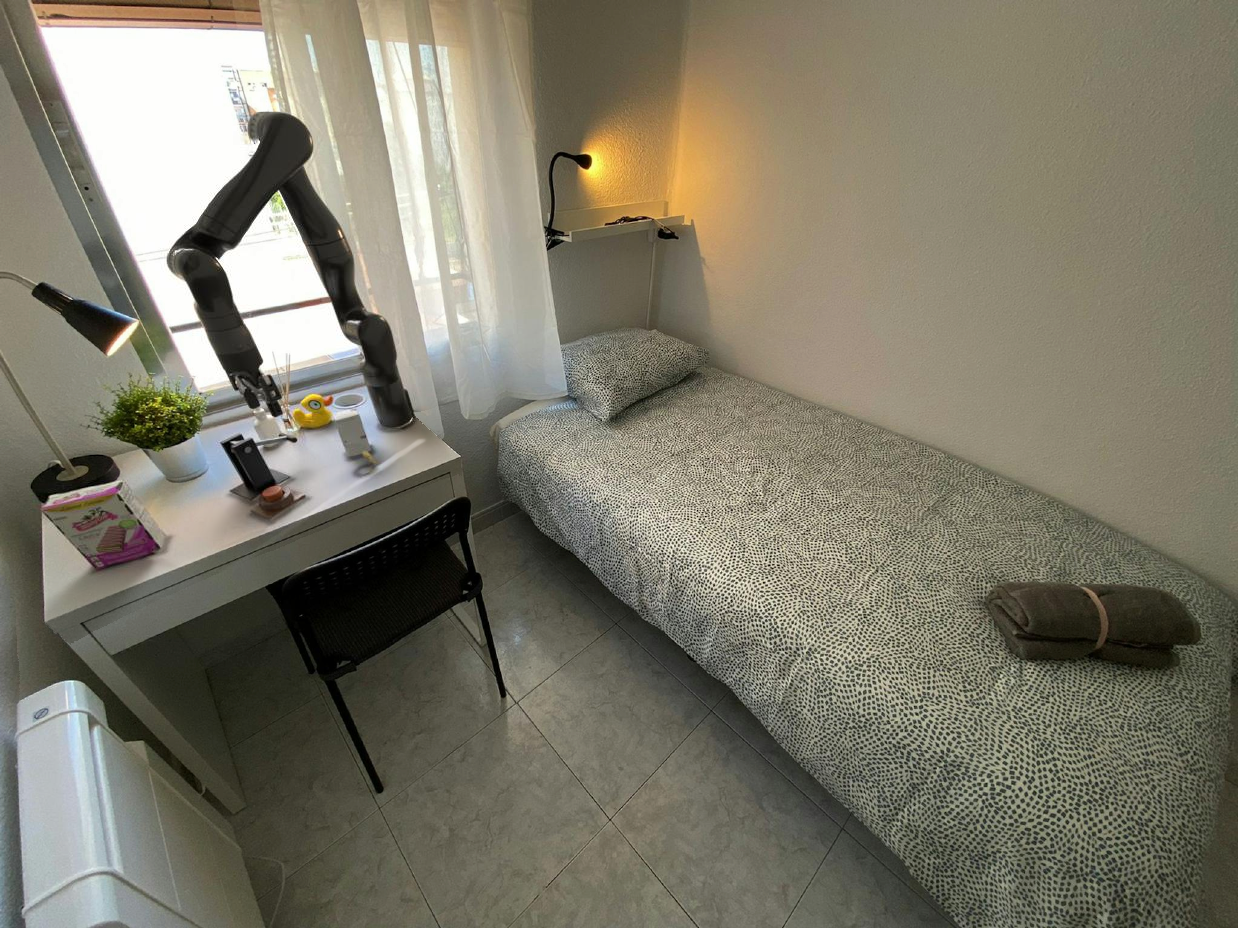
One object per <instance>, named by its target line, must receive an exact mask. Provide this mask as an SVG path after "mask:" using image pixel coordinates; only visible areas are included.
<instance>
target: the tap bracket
mask: <svg viewBox="0 0 1238 928" xmlns="http://www.w3.org/2000/svg"><path fill="white" fill-rule="evenodd" d="M238 440H243V441H241V442H239V443H237V444H235V445H233V446H231V447H230V442H233V441H238ZM254 441H255V440H254V438H253V437H250V436H249V437H248V438H246V439H245V437H244V435H243V434H242V433H237V434H234V435H233V436H230V437H228V438H226V439H224V440H222V441H220V442H219V444H220V445H221V447H222V448H223V451H224V452H225V454H226V456H227V457H228V459H229V461H230V462H231V464H232V466H233V468H234V469H235V471H236V473H237V475H238V476H239V478H240V479H241V481H242V483H241V484H238V485H237V486H235V487H233V488H232V489H230V490H229V492H231V493H233V494H236V495H237V496H240V497H243V498H245V499H247V500H249V501H253V500H254V499H256V498H258V497H259V496H260V495H261V494H262V493H263V491H264V490H265V489H267V488H269V487H272V486H279V485H280V484H281V483H283V482H285V481H286V480H288V479H290V478H291V476H290V475H287V474H285V473H282V472H279V471H277V470H276V469H275V470H274V469H272V468H269V466H268V464H267V462H266V460H265V459H264V456H263V455H262V452H261V451H260V449H259V446H256V444H255V442H254ZM231 448H232V450H233V451H234V453H233V452H231Z"/></svg>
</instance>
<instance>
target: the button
mask: <svg viewBox="0 0 1238 928" xmlns="http://www.w3.org/2000/svg"><path fill="white" fill-rule="evenodd" d="M280 487H281V486H279V485H276V486H272V487H269V488H267V489H265V490H264V491H263V496H264V498H265V499H266V501H274V500H277V499H279V498H281V497H282V496H283V495H284V493H283V491H282V489H281V488H280Z"/></svg>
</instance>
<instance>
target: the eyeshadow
mask: <svg viewBox="0 0 1238 928" xmlns="http://www.w3.org/2000/svg"><path fill="white" fill-rule="evenodd" d="M361 455H362V456H363V457H364V459H365V460H366V461H367V462H368V463H373V465H374V466H376V464H377V461H376V459H375V458H374V456H373V455H372V454H371V453H370V452H369V451H368V452H367V451H364V452H362V453H361ZM374 471H375V468H372V469H371V470H369V471H368V472H366V473H364V475H363V476H364V477H365V476H367V475H370V474H372V473H373V472H374Z"/></svg>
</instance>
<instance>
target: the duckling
mask: <svg viewBox="0 0 1238 928" xmlns="http://www.w3.org/2000/svg"><path fill="white" fill-rule="evenodd" d="M333 403H334V396H332V395H329V397H327V398H324V396H322V395H320V394H317V393H312V394H309V395H307V396H306V397H305V398H304V399H302V400H301V401H300V406H301V407H303V408H304V409H305V410H306V411H308V412H310V413H305V412H304V411H303V410H302V409H301V408H295V409H294V410H293V413H292V417H293V420H294V421H295V423H296V424H297V425H298V426H300V427H302V428H306V429H308V428H309V429H310V428H313V429H316V428H320V427H323V426H327V425H328V424H329V423H330V422H331V420H332V418H333V416H332V414H333V413H332V412H331V411H330V410H329V409H328V408H326V407H330V406H332V405H333Z"/></svg>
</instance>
